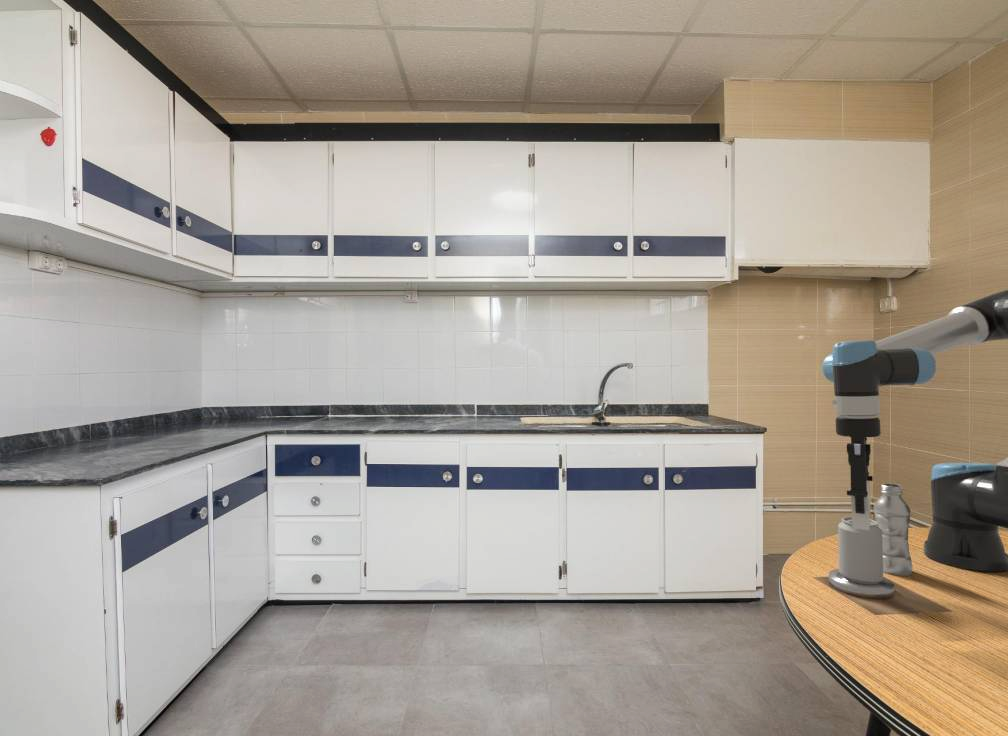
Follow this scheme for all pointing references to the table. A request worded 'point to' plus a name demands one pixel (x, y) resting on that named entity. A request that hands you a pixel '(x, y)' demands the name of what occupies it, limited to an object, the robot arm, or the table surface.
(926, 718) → the table surface
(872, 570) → the can
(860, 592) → the grey hollow ring
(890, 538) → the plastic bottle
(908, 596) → the board
